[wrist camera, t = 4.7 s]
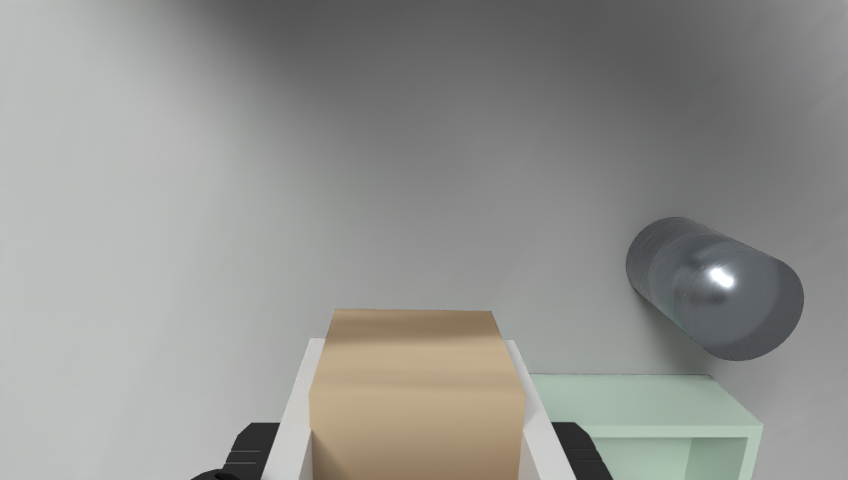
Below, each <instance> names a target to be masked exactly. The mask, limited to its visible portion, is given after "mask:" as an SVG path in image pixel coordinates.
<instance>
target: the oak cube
mask: <svg viewBox="0 0 848 480" xmlns="http://www.w3.org/2000/svg"><path fill="white" fill-rule="evenodd" d="M525 402H526V394H525V391H524V389H523V386H522V384H521V382H520V379H519V377H518V374H517V372H516V370H515V367H514V365H513V363H512V360H511V358H510V355H509V353H508V351H507V348H506V346H505V343H504V341H503V339H502V336H501V334H500V332H499V329H498V327H497V324H496V322H495V320H494V317H493V315H492V312H491V311H451V310H384V309H335V311H334V314H333V318H332V321H331V324H330V327H329V330H328V334H327V337H326V340H325V343H324V346H323V349H322V353H321V356H320V359H319V362H318V365H317V368H316V372H315V375H314V378H313V381H312V384H311V388H310V391H309V428H311V430H312V470H313V480H518V473H519V463H520V452H521V441H522V431H523V424H524V413H525Z"/></svg>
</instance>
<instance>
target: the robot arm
mask: <svg viewBox="0 0 848 480" xmlns="http://www.w3.org/2000/svg"><path fill="white" fill-rule="evenodd" d="M325 340H326V338H310V340H309V343H308V346H307V349H306V352H305V355H304V357H303V360H302V363H301V366H300V369H299V372H298V375H297V377H296V380H295V383H294V386H293V389H292V392H291V395H290V397H289V400H288V403H287V406H286V409H285V412H284V414H283V417H282V420H281V423H251V424H250V425H248V426H247V427H246V428H245V429H244V430H243V431H242V432H241V433H240V434H239V435H238V436H237V438H236V440H235V442H234V445H233V447H232V449H231V452H230V453H229V455H228V458H227V460H226V464H224V466H223V468H222V469H215V470H211V471H208V472H204V473H202V474H200V475H198V476H196V477H194V478H193V479H191V480H313V470H312V430H311V428H309V391H310V388H311V384H312V381H313V378H314V375H315V372H316V368H317V365H318V362H319V359H320V356H321V353H322V349H323V346H324V343H325ZM503 341H504V343H505V346H506V348H507V351H508V353H509V355H510V358H511V360H512V363H513V365H514V367H515V370H516V372H517V374H518V377H519V379H520V382H521V384H522V386H523V389H524V391H525V394H526V402H525V413H524V424H523V431H522V441H521V452H520V463H519V473H518V480H613V478H612V476H611V474H610V472H609V470H608V469H607V467H606V465H605V463H604V462H603V461H602V458H601V456H600V454H599V452H598V451H597V450H596V447H595V445H594V443H593V441H592V439H591V437H590V435H589V434H588V433H587V432H586V431H585V430H583V429H582V428H581V427H580V426H579V425H578V424H576V423H575V422H550V420H549V417H548V415H547V413H546V411H545V408H544V406H543V404H542V402H541V400H540V397H539V395H538V393H537V391H536V388H535V386H534V384H533V382H532V380H531V377H530V375H529V373H528V371H527V368H526V366H525V364H524V362H523V360H522V357H521V355H520V353H519V351H518V348H517V346H516V344H515V342H514V340H503Z"/></svg>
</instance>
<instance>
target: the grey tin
mask: <svg viewBox="0 0 848 480" xmlns="http://www.w3.org/2000/svg"><path fill="white" fill-rule="evenodd" d="M626 271H627V276H628V278H629V281H630V283H631V285H632V286H633V287H634V289H635V290H636V291H637V292H639V293H640V294H641V295H642V296H643V297H644V298H646V299H647V300H648V301H649V302H650V303H651V304H653V305H654V306H655V307H656V308H657V309H658V310H660V311H661V312H662V313H663V314H664V315H665V316H667V317H668V318H669V319H670V320H671V321H672V322H674V323H675V324H676V325H677V326H678V327H679V328H681V329H682V330H683V331H684V332H685V333H686V334H688V335H689V336H690V337H691V338H692V339H693V340H695V341H696V342H697V343H698V344H699V345H700V346H702V347H703V348H704V349H705V350H706V351H708V352H709V353H711V354H712V355H714V356H716V357H719V358H721V359H725V360H731V361H744V360H750V359H754V358H757V357H760V356H762V355H765V354H766V353H768V352H770V351H772V350H773V349H775V348H776V347H778V346H779V345H780V344H781V343H783V342H784V341H785V340H786V339H787V337H788V336H789V335H790V334H791V333H792V331H793V330H794V328H795V327H796V325H797V323H798V321H799V319H800V316H801V313H802V310H803V304H804V294H803V288H802V284H801V282H800V279H799V277H798V276H797V274H796V273H795V272H794V270H793V269H792V268H791V267H789V266H788V265H787V264H786V263H784V262H782V261H780V260H778V259H776V258H774V257H771V256H769V255H767V254H765V253H763V252H760V251H758V250H756V249H754V248H752V247H749V246H747V245H745V244H743V243H741V242H738V241H736V240H734V239H732V238H729V237H727V236H725V235H723V234H721V233H718V232H716V231H714V230H712V229H710V228H707V227H705V226H703V225H701V224H699V223H696V222H694V221H692V220H689V219H686V218H680V217H671V218H665V219H662V220H659V221H656V222H654V223H652V224H651V225H649V226H648V227H646V228H645V229H644V230H643V231H641V232H640V233H639V234H638V236H637V237H636V238H635V240H634V241H633V243H632V244H631V246H630V248H629V251H628V254H627V259H626Z"/></svg>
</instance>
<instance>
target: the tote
mask: <svg viewBox="0 0 848 480" xmlns="http://www.w3.org/2000/svg"><path fill="white" fill-rule="evenodd" d="M529 375H530V377H531V380H532V382H533V384H534V386H535V388H536V391H537V393H538V395H539V397H540V400H541V402H542V404H543V406H544V408H545V411H546V413H547V415H548V417H549V420H550V422H575V423H576V424H578V425H579V426H580V427H581V428H582V429H583V430H585V431H586V432H587V433H588V434H589V435H590V437H591V439H592V441H593V443H594V445H595V447H596V450H597V451H598V452H599V454H600V456H601V458H602V461H603V462H604V463H605V465H606V467H607V469H608V470H609V472H610V474H611V476H612V478H613V480H751V477H752V473H753V469H754V465H755V461H756V457H757V453H758V449H759V445H760V441H761V437H762V433H763V429H764V425H763V424H762V423H761V422H760V421H759V420H757V419H756V418H755V417H754V416H753V415H752V414H751V413H750V412H749V411H748V410H747V409H746V408H745V407H743V406H742V405H741V404H740V403H739V402H738V401H737V400H736V399H735V398H734V397H733V396H732V395H730V394H729V393H728V392H727V391H726V390H725V389H724V388H723V387H722V386H721V385H720V384H719V383H718V382H716V381H715V380H714V379H713V378H712V377H711V376H710V375H591V374H529Z"/></svg>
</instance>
